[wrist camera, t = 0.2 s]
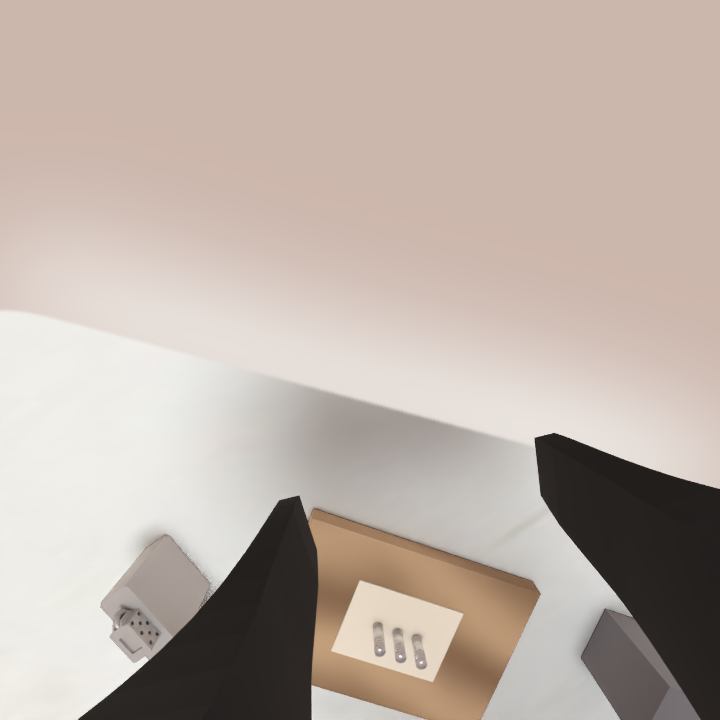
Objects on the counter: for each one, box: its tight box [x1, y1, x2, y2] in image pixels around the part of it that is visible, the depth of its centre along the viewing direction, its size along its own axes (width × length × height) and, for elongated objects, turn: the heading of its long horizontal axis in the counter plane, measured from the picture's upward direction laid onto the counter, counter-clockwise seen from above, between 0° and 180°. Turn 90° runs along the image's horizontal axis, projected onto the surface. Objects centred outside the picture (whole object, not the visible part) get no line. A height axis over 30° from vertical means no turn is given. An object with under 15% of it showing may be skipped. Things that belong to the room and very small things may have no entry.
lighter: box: [100, 535, 210, 662], centre depth 20 cm, size 7×2×8 cm, turn 35°
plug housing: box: [581, 609, 701, 720], centre depth 22 cm, size 4×6×5 cm, turn 70°
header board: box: [308, 509, 541, 720], centre depth 23 cm, size 10×14×3 cm
